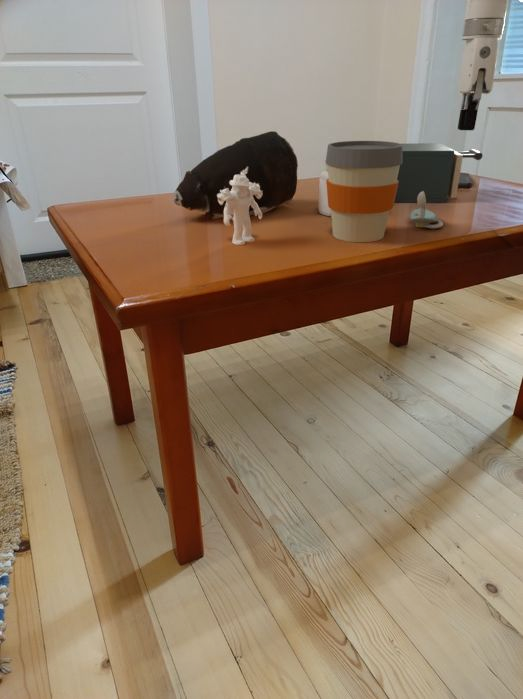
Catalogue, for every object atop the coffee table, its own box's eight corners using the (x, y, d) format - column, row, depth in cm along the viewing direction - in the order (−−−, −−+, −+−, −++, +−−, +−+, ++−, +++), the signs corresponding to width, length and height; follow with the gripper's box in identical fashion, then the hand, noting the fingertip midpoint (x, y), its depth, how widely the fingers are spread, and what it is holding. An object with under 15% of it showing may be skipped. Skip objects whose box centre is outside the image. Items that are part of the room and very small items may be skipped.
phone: (439, 182, 127) (439, 172, 140) (438, 186, 128) (438, 176, 140) (472, 183, 125) (469, 173, 138) (472, 187, 125) (468, 177, 138)
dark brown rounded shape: (150, 156, 99) (256, 122, 108) (167, 227, 109) (263, 191, 118) (184, 176, 89) (298, 137, 98) (200, 252, 99) (302, 211, 108)
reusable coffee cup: (308, 232, 92) (311, 144, 85) (363, 222, 98) (369, 139, 91) (352, 249, 83) (358, 151, 76) (409, 238, 88) (421, 145, 81)
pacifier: (440, 222, 98) (408, 220, 99) (447, 188, 95) (413, 187, 96) (444, 232, 91) (410, 230, 92) (451, 196, 88) (415, 194, 89)
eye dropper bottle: (318, 217, 102) (320, 153, 97) (318, 210, 107) (320, 150, 102) (339, 217, 102) (343, 153, 96) (339, 210, 107) (342, 150, 101)
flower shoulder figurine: (253, 234, 92) (251, 164, 86) (269, 238, 89) (268, 166, 84) (215, 245, 86) (211, 171, 81) (230, 249, 84) (227, 173, 78)
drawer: (465, 187, 122) (472, 147, 118) (479, 198, 111) (487, 154, 107) (382, 187, 124) (386, 147, 120) (388, 197, 113) (392, 154, 109)
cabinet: (434, 190, 124) (441, 143, 119) (446, 202, 112) (454, 150, 107) (368, 190, 125) (372, 143, 120) (373, 202, 113) (378, 151, 108)
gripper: (514, 27, 95) (493, 133, 104) (491, 33, 108) (474, 127, 117) (472, 28, 96) (455, 133, 105) (454, 34, 109) (441, 126, 118)
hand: (465, 129), depth 111 cm, fingers closed
